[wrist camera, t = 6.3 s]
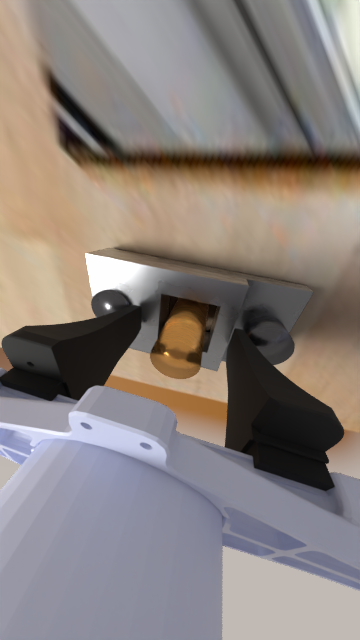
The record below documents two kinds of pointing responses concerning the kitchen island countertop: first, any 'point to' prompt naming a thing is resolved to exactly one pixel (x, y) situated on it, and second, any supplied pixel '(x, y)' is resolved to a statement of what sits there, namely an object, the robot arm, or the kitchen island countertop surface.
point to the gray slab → (203, 286)
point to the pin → (181, 340)
